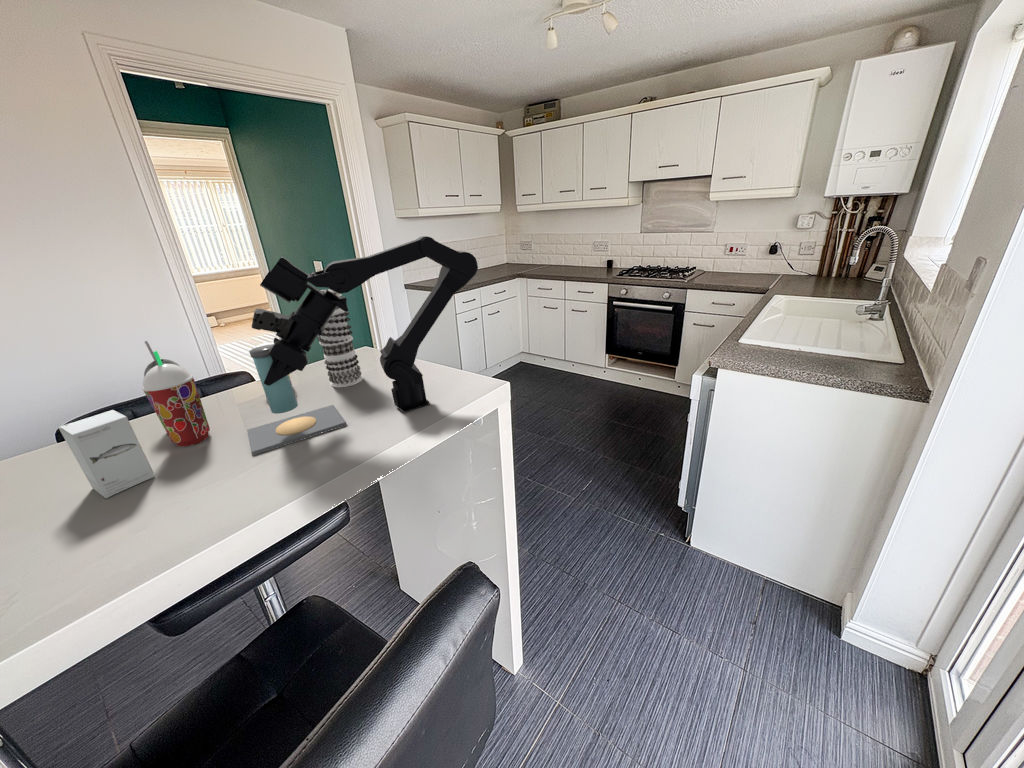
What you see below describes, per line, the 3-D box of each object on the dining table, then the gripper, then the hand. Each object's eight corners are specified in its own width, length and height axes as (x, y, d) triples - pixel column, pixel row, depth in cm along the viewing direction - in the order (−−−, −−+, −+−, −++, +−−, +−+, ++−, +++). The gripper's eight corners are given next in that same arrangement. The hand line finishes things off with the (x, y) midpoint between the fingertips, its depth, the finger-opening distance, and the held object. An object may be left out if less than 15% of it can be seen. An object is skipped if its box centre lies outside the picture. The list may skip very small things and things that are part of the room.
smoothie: (224, 433, 90) (190, 346, 82) (183, 453, 83) (141, 360, 75) (202, 428, 93) (166, 344, 86) (160, 446, 86) (118, 357, 79)
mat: (334, 407, 98) (333, 403, 98) (346, 425, 89) (345, 421, 89) (248, 433, 89) (246, 428, 89) (252, 455, 80) (250, 451, 80)
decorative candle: (347, 389, 109) (323, 294, 99) (321, 386, 112) (296, 294, 103) (371, 376, 116) (350, 287, 107) (346, 374, 120) (324, 287, 110)
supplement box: (105, 500, 70) (69, 435, 65) (91, 488, 74) (56, 426, 69) (157, 476, 76) (127, 415, 71) (141, 466, 79) (112, 408, 75)
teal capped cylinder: (302, 400, 88) (284, 342, 83) (294, 411, 83) (274, 350, 78) (275, 404, 87) (255, 346, 82) (266, 415, 83) (244, 354, 78)
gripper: (275, 286, 86) (233, 347, 86) (265, 299, 70) (214, 374, 70) (325, 317, 91) (285, 374, 92) (327, 335, 76) (279, 404, 76)
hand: (267, 380), depth 82 cm, fingers closed on teal capped cylinder, 5 cm apart
